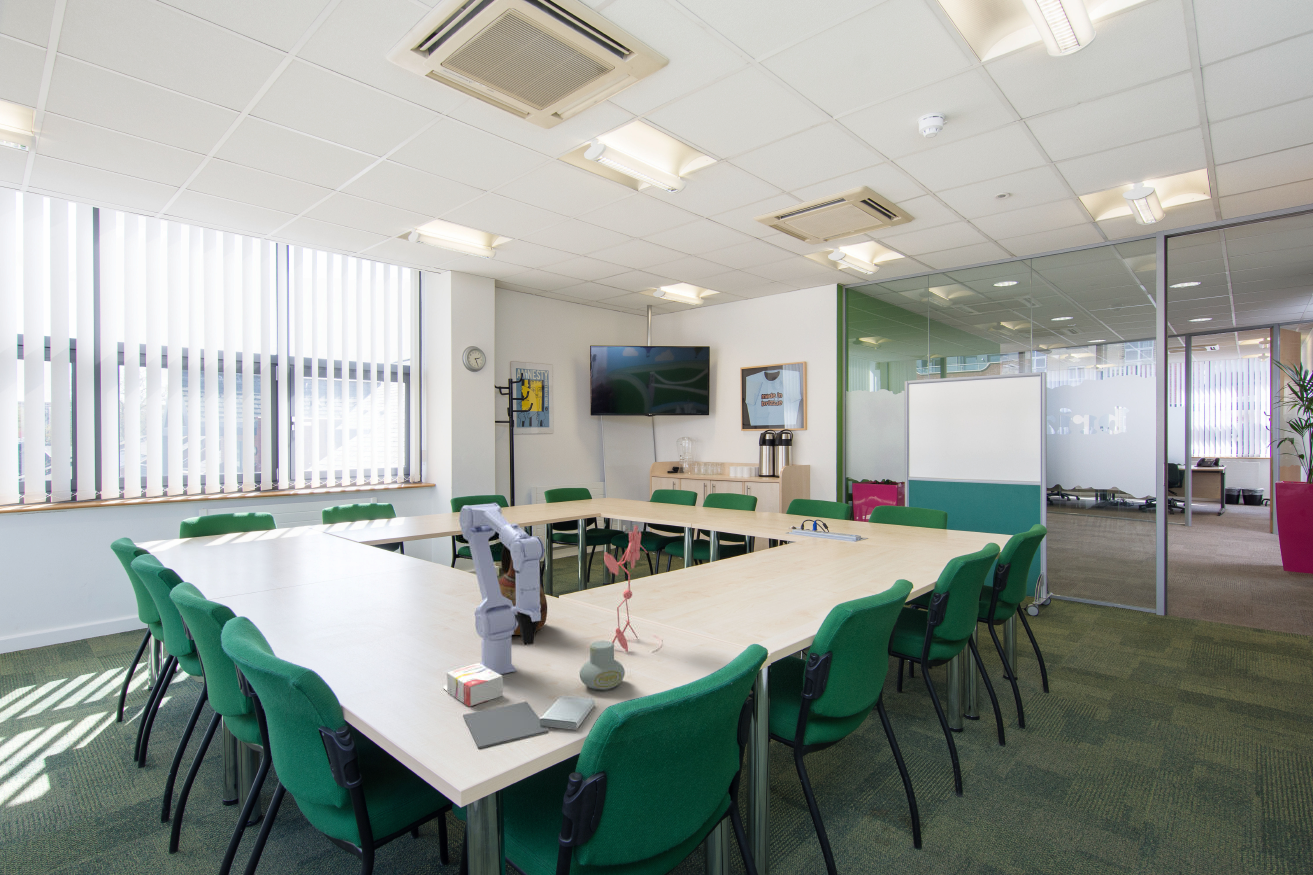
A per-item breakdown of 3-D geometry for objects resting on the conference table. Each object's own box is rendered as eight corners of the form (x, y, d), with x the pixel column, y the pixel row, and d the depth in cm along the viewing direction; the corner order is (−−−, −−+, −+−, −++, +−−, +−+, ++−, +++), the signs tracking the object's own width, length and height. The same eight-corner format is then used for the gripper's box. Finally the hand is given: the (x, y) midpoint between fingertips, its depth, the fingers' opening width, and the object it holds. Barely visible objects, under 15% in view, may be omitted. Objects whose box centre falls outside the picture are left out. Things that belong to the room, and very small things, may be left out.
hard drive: (577, 722, 124) (594, 697, 136) (539, 717, 126) (560, 694, 138) (576, 730, 124) (594, 705, 136) (539, 725, 126) (560, 701, 138)
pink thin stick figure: (596, 658, 166) (597, 530, 166) (624, 630, 191) (626, 519, 191) (650, 664, 162) (651, 533, 162) (672, 635, 187) (673, 521, 187)
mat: (463, 716, 131) (463, 714, 131) (526, 702, 138) (526, 701, 138) (478, 748, 117) (478, 746, 117) (548, 732, 124) (548, 730, 124)
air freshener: (585, 695, 142) (585, 652, 142) (575, 683, 149) (575, 642, 149) (629, 687, 146) (629, 646, 146) (617, 675, 154) (617, 636, 154)
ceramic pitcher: (502, 645, 178) (501, 543, 179) (472, 630, 193) (472, 536, 194) (559, 631, 191) (558, 536, 191) (527, 618, 206) (526, 529, 207)
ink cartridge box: (469, 685, 136) (440, 668, 147) (469, 707, 136) (440, 689, 147) (503, 674, 142) (472, 659, 153) (503, 695, 142) (473, 678, 153)
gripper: (503, 583, 152) (504, 638, 152) (519, 596, 139) (519, 655, 139) (531, 580, 155) (532, 633, 155) (549, 592, 143) (549, 650, 142)
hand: (528, 643), depth 147 cm, fingers closed
